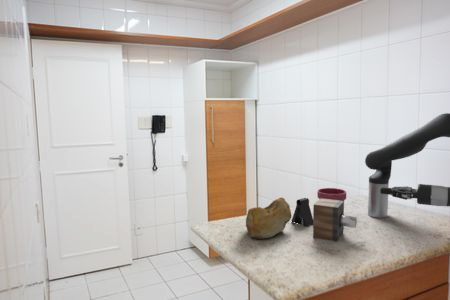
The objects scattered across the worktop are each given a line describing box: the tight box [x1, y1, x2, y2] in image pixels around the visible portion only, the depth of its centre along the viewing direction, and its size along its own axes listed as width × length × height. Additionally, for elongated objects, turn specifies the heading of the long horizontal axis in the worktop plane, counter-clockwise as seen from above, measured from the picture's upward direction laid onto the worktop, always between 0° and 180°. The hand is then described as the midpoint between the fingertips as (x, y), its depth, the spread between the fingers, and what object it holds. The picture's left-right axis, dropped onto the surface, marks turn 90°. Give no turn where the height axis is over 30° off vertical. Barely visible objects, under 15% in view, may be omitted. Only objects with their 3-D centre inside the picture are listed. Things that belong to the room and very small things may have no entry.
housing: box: [312, 198, 345, 243], centre depth 143 cm, size 12×10×14 cm
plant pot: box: [316, 187, 347, 202], centre depth 173 cm, size 14×14×13 cm
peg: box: [339, 214, 358, 229], centre depth 140 cm, size 4×10×4 cm, turn 59°
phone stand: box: [291, 197, 313, 227], centre depth 160 cm, size 9×6×12 cm, turn 39°
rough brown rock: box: [245, 197, 293, 240], centre depth 149 cm, size 23×17×15 cm
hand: (380, 190), depth 131 cm, fingers closed
